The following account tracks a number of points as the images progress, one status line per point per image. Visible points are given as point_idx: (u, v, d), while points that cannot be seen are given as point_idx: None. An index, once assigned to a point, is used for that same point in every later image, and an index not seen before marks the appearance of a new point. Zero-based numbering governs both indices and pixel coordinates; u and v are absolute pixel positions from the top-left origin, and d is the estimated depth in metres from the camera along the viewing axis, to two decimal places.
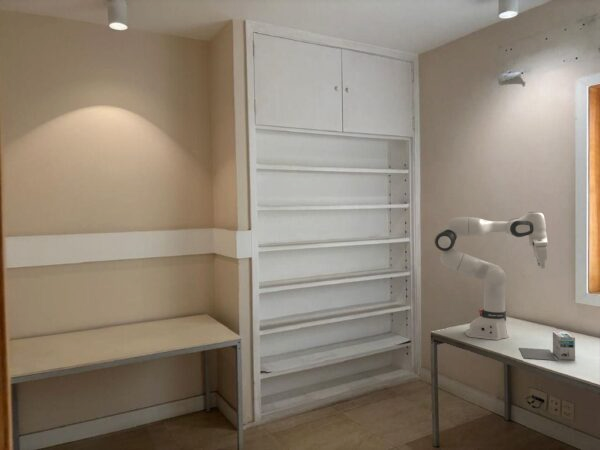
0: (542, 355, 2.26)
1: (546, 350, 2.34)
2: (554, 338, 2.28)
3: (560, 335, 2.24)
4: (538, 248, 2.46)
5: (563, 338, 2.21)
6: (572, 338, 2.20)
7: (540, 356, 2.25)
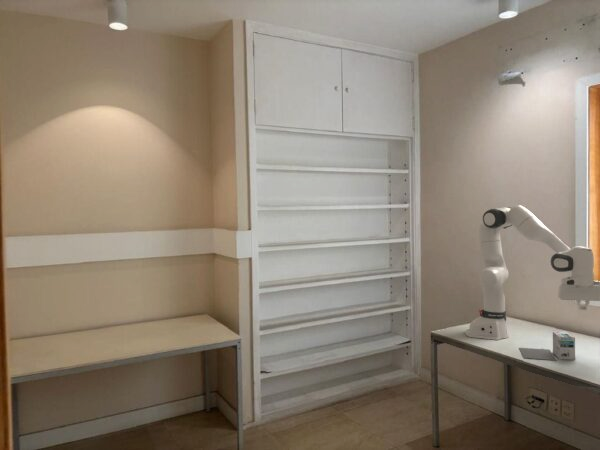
0: (542, 355, 2.26)
1: (546, 350, 2.34)
2: (554, 338, 2.28)
3: (560, 335, 2.24)
4: (560, 285, 2.26)
5: (563, 338, 2.21)
6: (572, 338, 2.20)
7: (540, 356, 2.25)
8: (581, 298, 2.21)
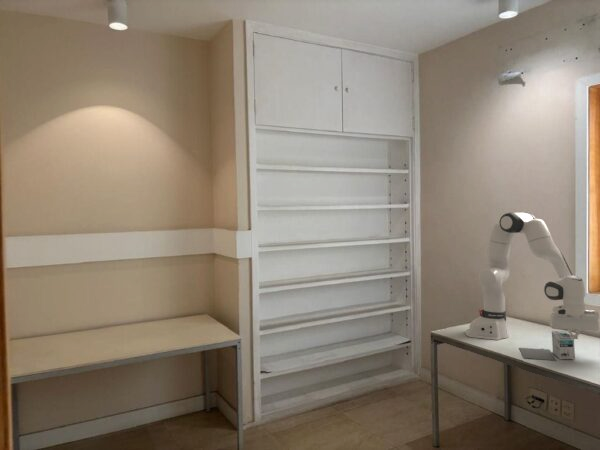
0: (542, 355, 2.26)
1: (546, 350, 2.34)
2: (553, 338, 2.28)
3: (559, 335, 2.24)
4: (552, 314, 2.28)
5: (562, 338, 2.21)
6: (571, 337, 2.20)
7: (540, 356, 2.25)
8: (572, 327, 2.23)
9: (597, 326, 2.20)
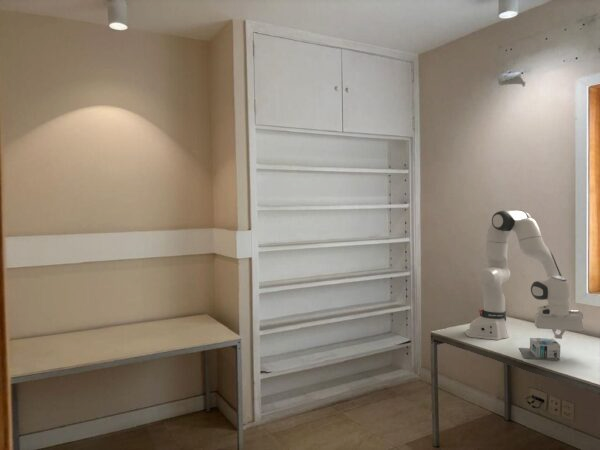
0: None
1: None
2: None
3: (534, 353, 2.26)
4: None
5: (537, 354, 2.23)
6: (537, 346, 2.23)
7: None
8: (556, 327, 2.25)
9: (581, 326, 2.22)
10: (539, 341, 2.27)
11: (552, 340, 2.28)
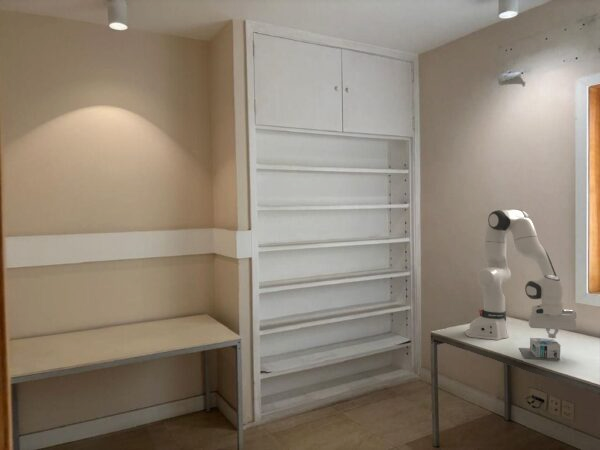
0: None
1: None
2: None
3: (534, 353, 2.26)
4: (530, 313, 2.31)
5: (537, 354, 2.23)
6: (537, 346, 2.23)
7: None
8: (550, 327, 2.25)
9: (574, 325, 2.22)
10: (539, 341, 2.27)
11: (552, 340, 2.28)
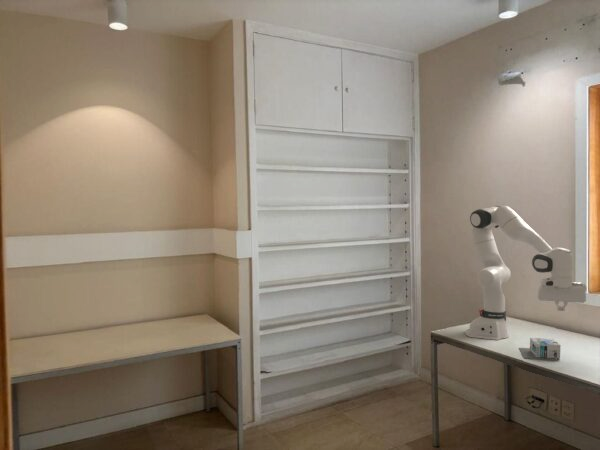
0: None
1: None
2: None
3: (534, 353, 2.26)
4: (540, 285, 2.29)
5: (537, 354, 2.23)
6: (537, 346, 2.23)
7: None
8: (559, 299, 2.24)
9: (584, 298, 2.21)
10: (539, 341, 2.27)
11: (552, 340, 2.28)
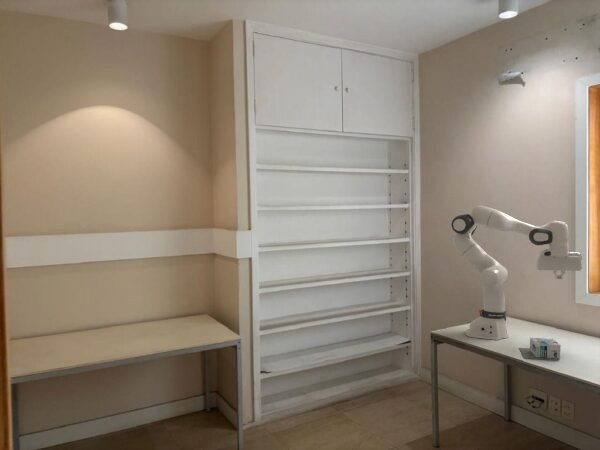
0: None
1: None
2: None
3: (534, 353, 2.26)
4: (538, 257, 2.47)
5: (537, 354, 2.23)
6: (537, 346, 2.23)
7: None
8: (557, 268, 2.41)
9: (580, 266, 2.38)
10: (539, 341, 2.27)
11: (552, 340, 2.28)
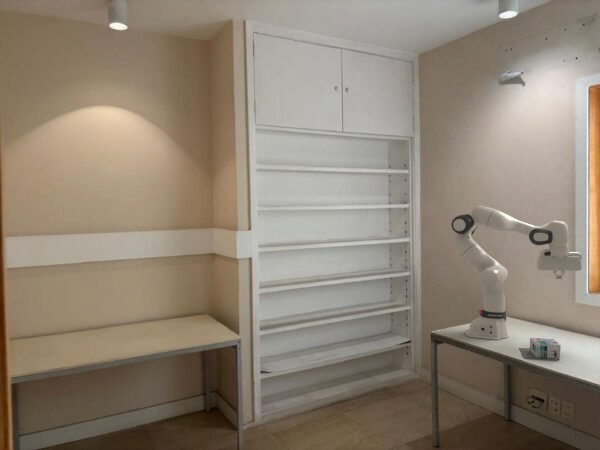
0: None
1: None
2: None
3: (534, 353, 2.26)
4: (538, 257, 2.47)
5: (537, 354, 2.23)
6: (537, 346, 2.23)
7: None
8: (557, 268, 2.41)
9: (580, 266, 2.38)
10: (539, 341, 2.27)
11: (552, 340, 2.28)
